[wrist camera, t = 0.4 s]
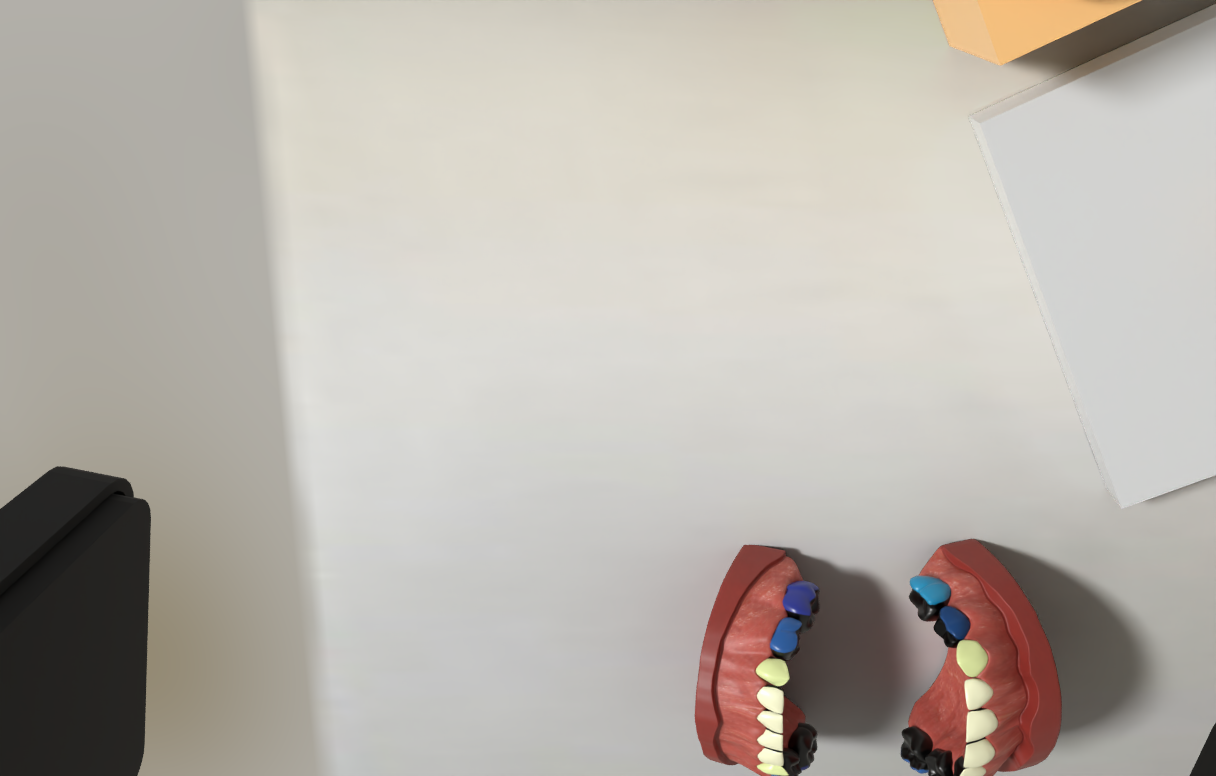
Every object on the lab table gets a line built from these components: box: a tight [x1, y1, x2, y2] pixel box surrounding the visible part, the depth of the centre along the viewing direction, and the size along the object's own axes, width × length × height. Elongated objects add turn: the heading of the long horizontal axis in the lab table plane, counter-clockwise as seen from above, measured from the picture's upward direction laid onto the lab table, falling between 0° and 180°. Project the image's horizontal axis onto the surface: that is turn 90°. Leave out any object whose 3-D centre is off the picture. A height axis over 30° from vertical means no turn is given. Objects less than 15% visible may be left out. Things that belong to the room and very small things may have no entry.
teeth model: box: [695, 539, 1062, 776], centre depth 38 cm, size 8×6×12 cm
